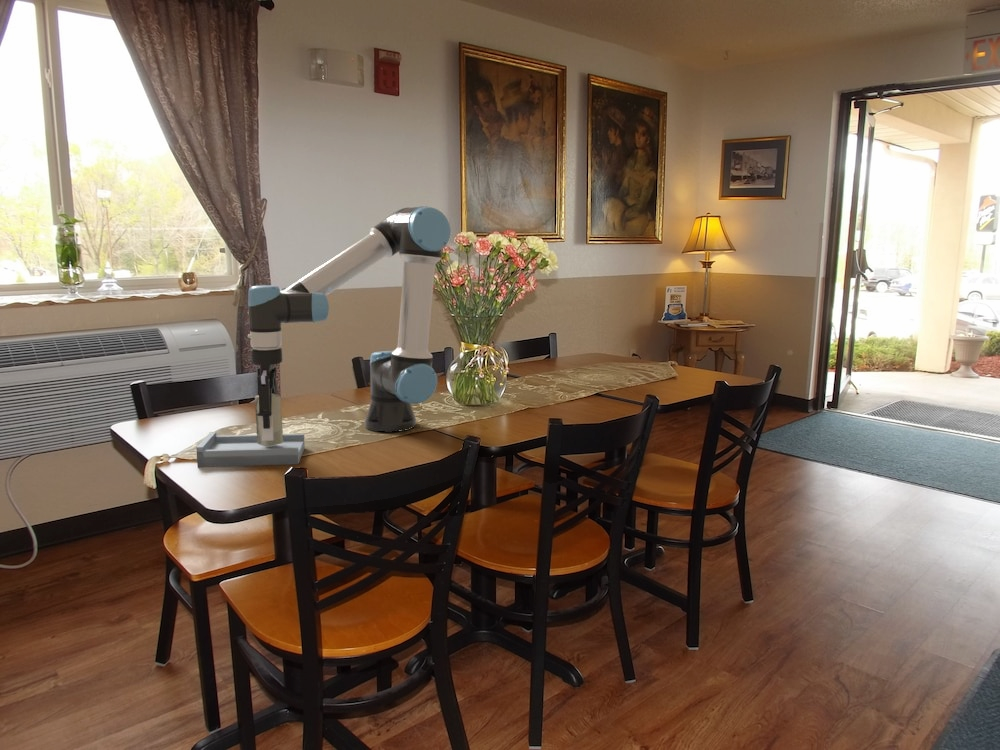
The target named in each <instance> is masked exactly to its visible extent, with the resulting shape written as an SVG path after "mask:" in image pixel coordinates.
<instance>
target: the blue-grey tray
mask: <svg viewBox="0 0 1000 750" xmlns="http://www.w3.org/2000/svg"><path fill="white" fill-rule="evenodd" d="M305 444H306V443H305V433H283V443H280V444H277V445H273V446H268V447H265V446H262V445H260V444H257V434H235V435H234V434H233V435H232V434H231V435H230V434H228V435H222V434H221V435H217V432H216V431H210V432H209V433H207V435H206V436H205V437H204V438H203V439H202V440H201V441H200V442H199V444H198V445H197V446H196V450H195V451H196V462H197V463H196V464H197V468H209V467H210V468H211V467H212V468H213V467H240V466H241V467H245V466H271V465H272V466H279V465H283V466H284V465H299V463H300V462H301V458H302V455H303V453H304V451H305V448H306V447H305Z"/></svg>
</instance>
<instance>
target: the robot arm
mask: <svg viewBox="0 0 1000 750" xmlns="http://www.w3.org/2000/svg"><path fill="white" fill-rule="evenodd" d="M450 238H451V225H450V221H449V220H448V218H447V216H446V215H445V214H444V212H442V211H441V210H439V209H438V208H435V207H431V206H422V205H421V206H417V207H403V208H401V209H398V210H396V211H395V212H393V213H392V214H390V215H389V216H387V217H385V219H383V220H382V221H380V222H379V223H377V224H376V225H373V227H371V228H370V229H369V234H367V235H365V237H363V238H361V239H360V240H358V241H357V242H355V243H354V244H352V245H350V246H349V247H348V248H345V249H344V250H342V252H339V254H337V255H335V256H334V257H332V258H331V259H329V260H328V261H327V262H325V263H323V264H321V265H320V266H319V267H316V268H315V269H314V270H312V271H311V272H309V273H307V274H306V275H305V276H303V277H302V278H300V279H299V280H297V281H296V282H294V283H292V284H290V285H289V286H288V287H284V288H280V287H279V286H277V285H265V284H264V285H262V284H261V285H259V284H258V285H253V286H250V287H249V288H248V297H247V298H248V299H247V301H248V302H247V306H248V321H249V334H247V338H248V339H250V341H249V342H250V344H249V345H250V347H251V349H250V362H251V364H252V365H255V366H260V369H259V371H257V378H256V379H257V384H258V395H259V413H258V416H261V429H262V441H273V440H274V436H273V415H271V414H272V412H271V410H272V393H273V394H277V395H278V388H277V387H278V386H277V366H275V365H278V364H281V363H282V362H283V349H282V348H281V347H282V346H283V339H282V338H283V337H282V336H283V335H282V324H290V323H291V324H292V323H293V324H294V323H319V322H324V321H326V320H327V319H328V317H329V311H330V310H329V309H330V306H329V300H328V298H327V296H328V295H329V294H332V292H334V291H336V290H337V289H338V288H340V287H341V286H344V284H346V283H348V282H349V281H351V280H352V279H354V278H355V277H357V276H358V275H360V273H362V272H364V271H365V270H367V269H368V268H370V267H371V266H373V265H374V264H376V263H377V262H379V261H380V260H382V259H383V258H391V257H392V256H394V255H396V254H398V255H399V257H400V258H401V259H402V260H403V273H402V284H401V285H402V287H401V298H400V309H399V310H400V311H399V312H400V313H399V323H398V326H399V327H398V334H397V335H398V336H397V346H396V348H395V349H393V350H385V351H383V350H382V351H375V352H372V353H371V354H370V358H369V359H370V360H369V373H370V375H369V377H370V378H369V381H370V383H369V385H370V403H369V405H368V410H367V413H366V415H365V419H364V422H365V423H364V426H365V429H367V430H370V431H373V432H378V431H385V432H384V433H393V432H392V431H399V430H405V429H409V428H411V427H413V426H415V424H416V422H417V421H416V416H415V412H414V409H413V407H412V404H413V405H416V404H417V405H418V404H421V403H424V402H427V401H428V400H429V399H430V398H431V397H432V396H433V395H434V393H435V392H436V389H437V387H438V376H437V372H435V371H436V370H434V368H433V359H434V358H433V356H434V355H433V354H432V352H430V351H429V340H430V328H431V317H432V316H431V315H432V306H433V305H432V304H433V297H434V296H433V295H434V285H435V284H434V281H435V273H436V272H435V271H436V264H437V263H439V262H440V260H442V256H443V255H442V252H443V248H445V247H446V245H447V244H449V241H450ZM415 427H416V426H415Z"/></svg>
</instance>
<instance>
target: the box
mask: <svg viewBox="0 0 1000 750" xmlns="http://www.w3.org/2000/svg"><path fill="white" fill-rule="evenodd" d="M254 404H255V407H254V408H255V424H256V435H257V444H260V445H262V446H265V447H268V446H273V445H277V444H280V443H283V434H284V430H283V413H282V412H283V411H282V397H281V395H280V394H278V393H277V394H273V393H272V410H271V412H272V414H271V415H273V436H274V440H273V441H262V429H261V416H258V413H259V394H258V395H255V396H254Z"/></svg>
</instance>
